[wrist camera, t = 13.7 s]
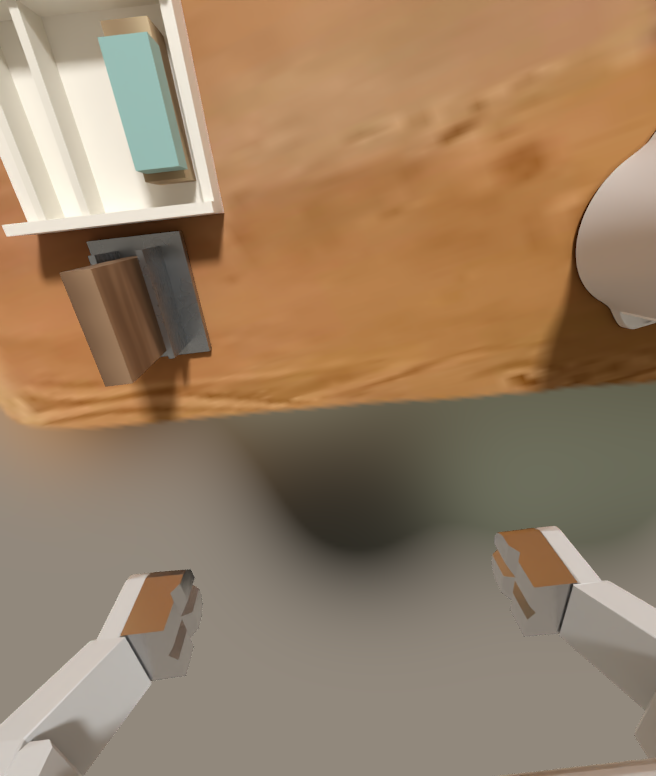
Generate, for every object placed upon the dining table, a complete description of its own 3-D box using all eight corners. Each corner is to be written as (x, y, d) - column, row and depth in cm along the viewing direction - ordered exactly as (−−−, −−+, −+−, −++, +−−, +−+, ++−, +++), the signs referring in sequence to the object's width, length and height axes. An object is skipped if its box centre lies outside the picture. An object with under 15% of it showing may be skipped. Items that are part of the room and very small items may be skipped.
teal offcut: (158, 45, 24) (146, 31, 22) (187, 169, 27) (179, 165, 25) (113, 50, 24) (97, 37, 22) (147, 173, 27) (135, 171, 25)
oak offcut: (163, 36, 26) (147, 15, 23) (196, 181, 30) (185, 177, 27) (121, 41, 26) (100, 20, 23) (159, 185, 30) (145, 182, 27)
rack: (179, -7, 26) (158, -43, 22) (224, 212, 32) (213, 212, 28) (-48, 19, 26) (-105, -13, 22) (41, 234, 32) (6, 236, 28)
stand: (181, 230, 32) (162, 232, 28) (211, 348, 37) (199, 366, 33) (91, 241, 32) (57, 244, 28) (133, 357, 37) (109, 376, 33)
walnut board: (151, 254, 32) (90, 268, 23) (176, 340, 36) (132, 383, 26) (128, 256, 32) (59, 272, 23) (156, 343, 36) (105, 386, 26)
